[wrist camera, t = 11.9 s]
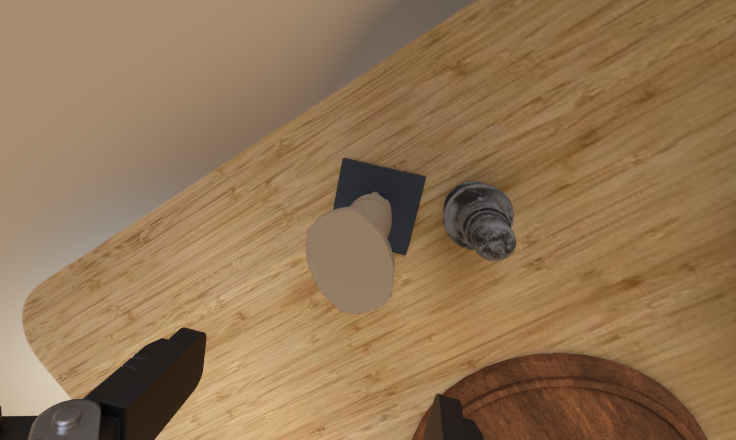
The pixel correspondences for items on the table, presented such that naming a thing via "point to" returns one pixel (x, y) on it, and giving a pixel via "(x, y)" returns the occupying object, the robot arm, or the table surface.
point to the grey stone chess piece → (480, 220)
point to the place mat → (383, 195)
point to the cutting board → (569, 402)
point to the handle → (353, 254)
